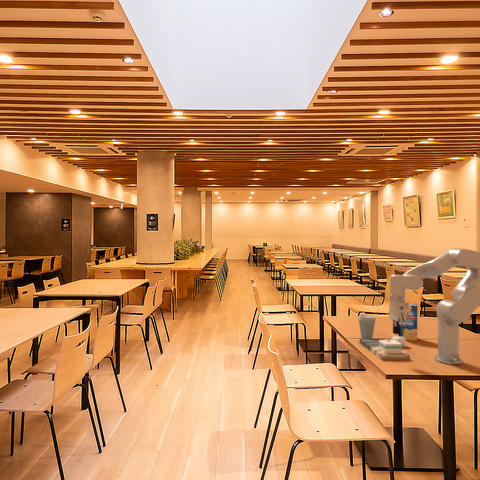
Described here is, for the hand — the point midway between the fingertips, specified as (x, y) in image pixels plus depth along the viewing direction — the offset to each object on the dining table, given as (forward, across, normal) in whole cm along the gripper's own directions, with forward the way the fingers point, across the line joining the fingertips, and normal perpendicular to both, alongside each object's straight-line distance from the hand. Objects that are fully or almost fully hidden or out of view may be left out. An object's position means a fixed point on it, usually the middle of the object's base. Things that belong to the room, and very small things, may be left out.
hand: (396, 333), depth 193 cm
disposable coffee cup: (+15, +43, -2) cm, 45 cm away
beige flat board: (+14, +18, -1) cm, 23 cm away
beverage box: (+14, +42, -28) cm, 52 cm away
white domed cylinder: (+14, +27, -14) cm, 34 cm away
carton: (+12, +9, -1) cm, 15 cm away
